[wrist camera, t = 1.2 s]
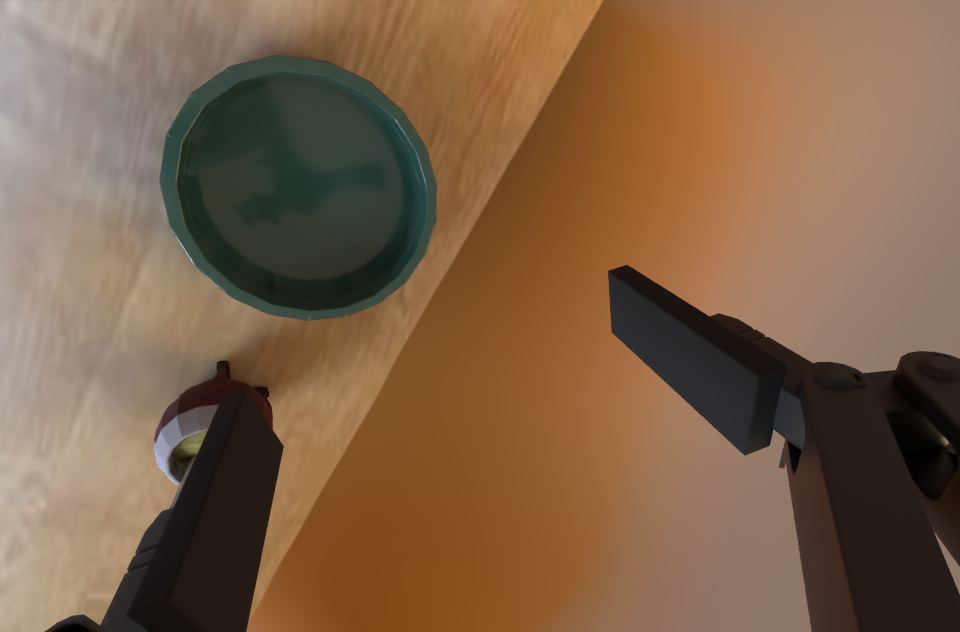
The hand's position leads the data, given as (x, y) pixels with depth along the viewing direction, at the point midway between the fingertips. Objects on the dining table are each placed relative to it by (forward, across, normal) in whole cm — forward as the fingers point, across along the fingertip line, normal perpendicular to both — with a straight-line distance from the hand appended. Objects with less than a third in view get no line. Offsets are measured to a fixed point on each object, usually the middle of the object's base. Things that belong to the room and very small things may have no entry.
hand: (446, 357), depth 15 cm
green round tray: (+21, -6, +3) cm, 22 cm away
